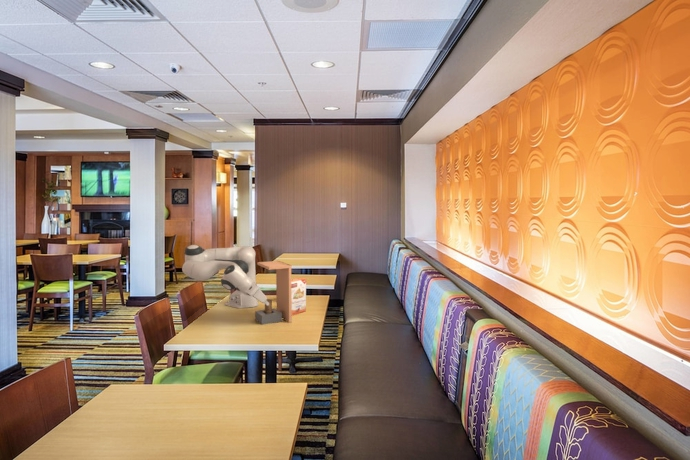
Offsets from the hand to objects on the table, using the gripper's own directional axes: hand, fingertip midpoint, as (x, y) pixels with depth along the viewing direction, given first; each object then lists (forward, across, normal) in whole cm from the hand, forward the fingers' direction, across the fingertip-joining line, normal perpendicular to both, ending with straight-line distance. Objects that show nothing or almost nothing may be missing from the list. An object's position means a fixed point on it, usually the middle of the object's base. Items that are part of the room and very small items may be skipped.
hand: (265, 302), depth 241 cm
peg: (+9, 0, -6) cm, 11 cm away
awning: (+12, 0, -4) cm, 12 cm away
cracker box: (+23, -8, +8) cm, 26 cm away
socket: (+9, 0, -6) cm, 11 cm away
